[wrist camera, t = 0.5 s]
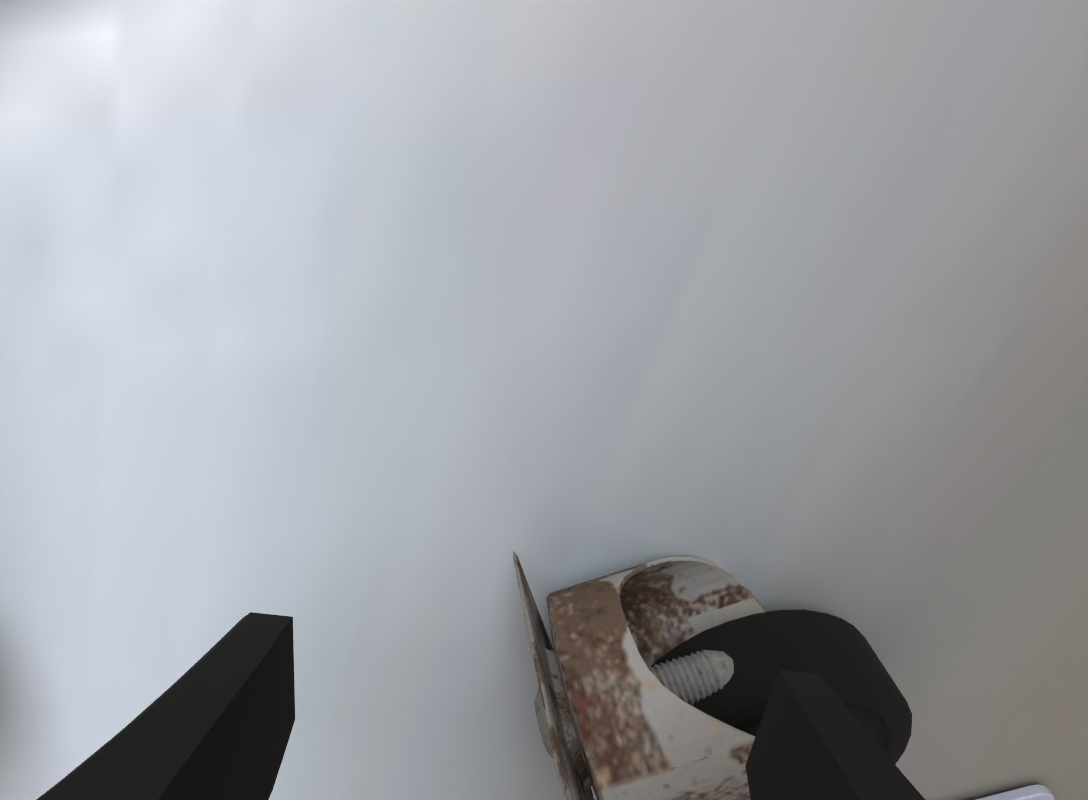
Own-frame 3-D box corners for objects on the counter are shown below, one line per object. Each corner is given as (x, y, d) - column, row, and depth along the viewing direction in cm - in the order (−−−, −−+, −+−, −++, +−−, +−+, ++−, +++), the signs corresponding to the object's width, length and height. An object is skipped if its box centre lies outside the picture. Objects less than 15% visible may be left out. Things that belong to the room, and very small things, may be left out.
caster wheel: (833, 672, 27) (575, 754, 27) (834, 446, 20) (492, 553, 20) (948, 866, 22) (625, 971, 21) (1000, 645, 15) (534, 793, 15)
